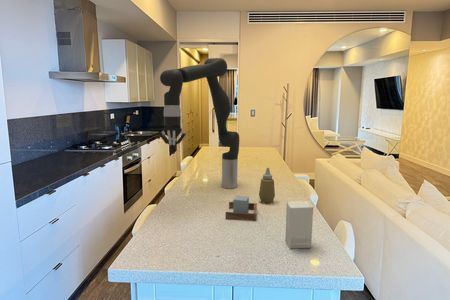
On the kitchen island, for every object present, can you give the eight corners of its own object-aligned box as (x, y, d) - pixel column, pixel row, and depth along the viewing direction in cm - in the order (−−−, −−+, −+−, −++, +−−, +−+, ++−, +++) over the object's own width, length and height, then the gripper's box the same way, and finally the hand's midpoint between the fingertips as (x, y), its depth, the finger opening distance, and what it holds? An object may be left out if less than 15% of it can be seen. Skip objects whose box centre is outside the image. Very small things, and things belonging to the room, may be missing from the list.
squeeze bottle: (262, 205, 148) (263, 170, 145) (256, 200, 156) (257, 166, 153) (277, 204, 151) (278, 169, 147) (270, 199, 158) (272, 165, 155)
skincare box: (306, 240, 112) (308, 200, 110) (311, 249, 106) (314, 207, 103) (284, 240, 112) (286, 200, 109) (288, 249, 106) (290, 207, 103)
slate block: (235, 211, 140) (235, 195, 138) (248, 213, 139) (248, 196, 137) (233, 216, 134) (233, 199, 133) (246, 218, 133) (246, 200, 131)
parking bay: (229, 207, 145) (229, 201, 144) (256, 209, 143) (256, 203, 143) (225, 219, 131) (225, 212, 131) (255, 221, 129) (255, 214, 129)
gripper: (188, 115, 139) (189, 152, 142) (161, 114, 140) (162, 151, 143) (184, 116, 131) (184, 154, 134) (155, 115, 133) (156, 153, 136)
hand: (173, 152), depth 139 cm, fingers closed
